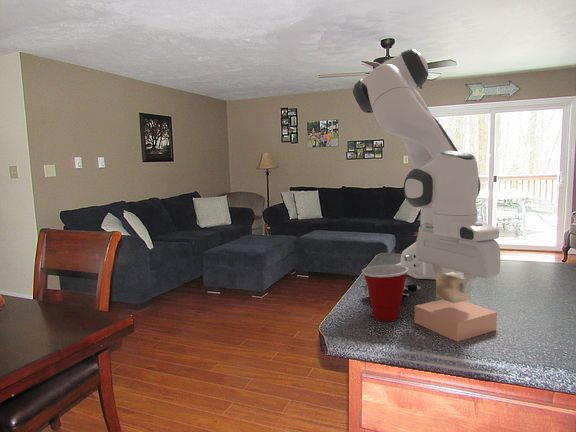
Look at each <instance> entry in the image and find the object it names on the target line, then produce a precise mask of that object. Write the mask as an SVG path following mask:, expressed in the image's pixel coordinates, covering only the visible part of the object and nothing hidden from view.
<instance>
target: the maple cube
mask: <svg viewBox="0 0 576 432" xmlns="http://www.w3.org/2000/svg"><path fill="white" fill-rule="evenodd" d="M465 279H466V278H464V274H462V273H461V274H458V273H454V272H450V273H445V274H440V275H436V279H435V285H436V286H435V297H436V298H438V299H439V300H442V299H443V300H446V301H449V302H452V303H457V302H461V301H465V302H467V301H470V300H471V292H470V293H467V294H465V293H462V292H460V291H459V289H460V287H459V284H463V283H464V281H465Z"/></svg>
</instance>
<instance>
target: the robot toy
mask: <svg viewBox="0 0 576 432" xmlns="http://www.w3.org/2000/svg"><path fill="white" fill-rule="evenodd" d="M407 284H408V283H407V281H405V283H404V289H403V295H402V300H405V299H406V298H408V297H409V296H410V293H412V292H413V293H414V292H418V291H417V290H421V286H418V285H417V284H416V283H415V284H408V285H407ZM359 287H360V288H364V289H365V290H364V291H365V292H366V294H367V296H369V292H368V287H367V284H366V285H359Z"/></svg>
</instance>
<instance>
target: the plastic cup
mask: <svg viewBox="0 0 576 432" xmlns="http://www.w3.org/2000/svg"><path fill="white" fill-rule="evenodd" d="M407 272H408V268H407V267H405V266H401V265H396V264H378V265H371V266H367V267H364V268H363V269H361V274H362V275H363V277H364V280H365V283H366V285H367V287H368V292H369V295H368V297H369V303H370V305H371V311H372V312H371V313H372V316H373V318H374V319H375V320H377V321H381V322H394V321H397V319H399V316H400V309H401V305H402V302H403V299H402V295H403V289H404V283H405V282H406V279H407V276H408V275H407Z"/></svg>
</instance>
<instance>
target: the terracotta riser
mask: <svg viewBox="0 0 576 432" xmlns="http://www.w3.org/2000/svg"><path fill="white" fill-rule="evenodd" d="M497 321H498V312H497V311H494V310H492V309H489V308H486V307H483V306H479V305H476V304H474V303H471V302H469V301H461V302H457V303H452V302H449V301H446V300H443V299H437V300H434V301H429V302H425V303H422V304H417V305H414V323H415V324H417V325H419V326H421V327H424V328H426V329H428V330H430V331H432V332H434V333H437V334H439V335H441V336H443V337H446V338H448V339H450V340H452V341H455V342H461V341H464V340H468V339H471V338H474V337H478V336H481V335H484V334H487V333H488V334H489V333H490V332H494V331H497V327H498V326H497V324H498V323H497Z"/></svg>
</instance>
